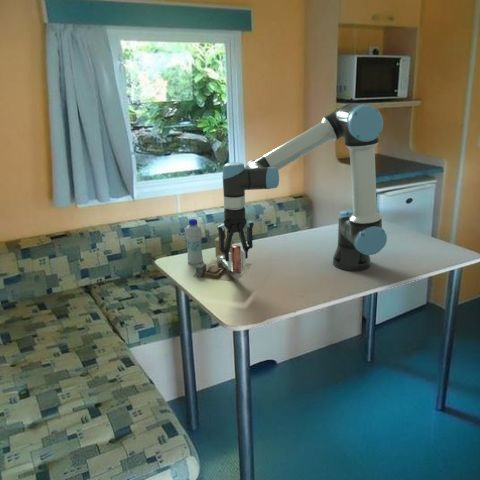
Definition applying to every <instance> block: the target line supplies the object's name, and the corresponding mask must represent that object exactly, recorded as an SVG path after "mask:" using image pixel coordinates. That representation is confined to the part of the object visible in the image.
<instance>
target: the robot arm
mask: <svg viewBox="0 0 480 480" xmlns="http://www.w3.org/2000/svg"><path fill="white" fill-rule="evenodd" d="M383 128H384V119H383V115H382V113H381V112H380V111H379V110H378V109H377V108H376V107H374V106H372V105H370V104H365V103H359V102H358V103H357V102H349V103H346V104H344V105H341V106H340V107H338V108H337V109H335V110H334V111H332V112H330V113H329V114H328V115H325V116H324V117H323V118H322V120H321V122H319V123H317V124H316V125H314V126H312V127H310V128H309V129H307V130H305V131H304V132H302V133H300V134H298V135H296V136H295V137H293V138H291V139H290V140H288V141H287V142H285V143H283V144H281V145H280V146H277V147H276V148H274V149H272V150H271V151H269V152H267V153H265V154H264V155H263V156H261V157H259V158H257V159H251V160H250V161H248V162H247V163H246V164H245V165H244V163H243V162H233V161H232V162H227V163H225V164H224V165H223V166H222V187H223V188H222V190H223V211H224V212H223V215H224V220H223V222H222V223H221V224H220V225H219V224H217V225H216V229H217V233H218V237H219V250H220V251H221V252H222V253H225V261H226V262H227V266H228V269H229V270H232V257H231V253H230V252H229V250H230V245H231V240H232V241H233V236H234V234H235V233H238V236H239V240H240V243H241V246H242V247H241V266H242V267H243V268H246V263H247V261H246V259H248V257H249V255H248V252H249V250H250V249H252V248H253V246H254V245H253V228H254V222H253V221H251V220H249V221H248V220H247V219H246V207H245V206H246V191H250V190H251V191H253V190H254V191H255V190H270V189H271V190H273V189H276V188H278V186H279V184H280V173H279V171H280V170H282V169H283V168H285V167H287V166H288V165H290V164H291V163H294V162H296V161H297V160H299V159H301V158H302V157H304V156H306V155H307V154H310V153H311V152H313V151H315V150H316V149H318V148H319V147H321V146H323V145H325V144H327V143H329V142H330V141H334V142H335V141H337V140H339V139H341V138H343V137H344V146H345V147H346V148H347V149H348V150H349V161H350V162H349V163H350V165H349V166H350V176H351V177H350V178H351V197H352V208H350V209H349V208H348V209H343V210H340V212H339V213H338V226H337V227H338V232H337V247H336V249H335V251H334V255H333V257H332V265H333V266H334V267H336V268H337V267H338V269H340V268H341V269H340V270H343V269H346V270H345V271H350V270H358V271H363V270H362V269H364V270H367V269H369V268H370V267H371V261H372V260H371V256H372V255H376V254H378V253H379V252H380V251H382V250H383V249H384V248H385V246H386V244H387V241H388V236H387V232H386V231H385V230H384V228H383V217H382V215H381V213H379V212H378V206H377V205H378V201H377V200H378V199H377V179H376V174H377V173H376V150H375V148H376V147H377V145H378V144H379V143H380V139H379V138H380V134H381V133H382V131H383ZM245 226H246V237H245V232H244V229H245ZM224 228H225V229H226V231H227V232H226V236H227V237H226V242H225V247H224V233H223V231H224ZM369 266H370V267H369ZM368 267H369V268H368ZM366 268H367V269H366Z"/></svg>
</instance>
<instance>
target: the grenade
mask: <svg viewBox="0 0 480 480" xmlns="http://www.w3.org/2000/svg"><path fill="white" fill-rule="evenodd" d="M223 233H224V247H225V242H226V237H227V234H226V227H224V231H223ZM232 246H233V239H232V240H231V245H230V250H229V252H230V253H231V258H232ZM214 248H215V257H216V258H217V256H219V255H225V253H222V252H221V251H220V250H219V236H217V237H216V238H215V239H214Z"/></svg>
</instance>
